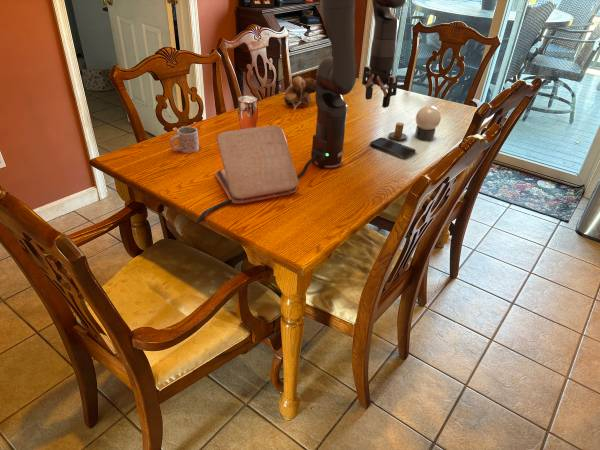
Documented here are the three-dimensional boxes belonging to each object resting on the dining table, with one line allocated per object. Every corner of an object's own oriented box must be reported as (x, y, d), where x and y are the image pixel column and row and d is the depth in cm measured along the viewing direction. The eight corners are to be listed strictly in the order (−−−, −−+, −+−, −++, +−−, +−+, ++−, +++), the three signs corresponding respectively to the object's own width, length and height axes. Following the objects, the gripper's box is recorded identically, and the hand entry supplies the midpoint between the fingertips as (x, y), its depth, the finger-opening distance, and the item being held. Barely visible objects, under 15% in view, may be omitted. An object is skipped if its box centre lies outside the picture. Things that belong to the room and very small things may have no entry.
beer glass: (262, 140, 162) (262, 99, 153) (247, 145, 157) (246, 103, 149) (249, 134, 165) (248, 94, 157) (234, 139, 161) (233, 98, 153)
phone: (381, 136, 166) (416, 150, 158) (381, 139, 167) (416, 152, 159) (369, 142, 161) (404, 156, 153) (368, 145, 162) (404, 159, 154)
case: (232, 208, 123) (230, 154, 114) (213, 173, 139) (209, 124, 130) (300, 195, 131) (303, 144, 122) (274, 164, 146) (275, 117, 137)
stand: (424, 142, 167) (426, 132, 165) (410, 135, 172) (412, 125, 170) (437, 138, 171) (439, 128, 168) (423, 132, 175) (426, 122, 173)
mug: (191, 143, 157) (190, 125, 153) (202, 149, 153) (201, 131, 149) (166, 150, 151) (164, 132, 147) (177, 157, 147) (175, 138, 143)
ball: (425, 136, 165) (431, 112, 160) (408, 127, 171) (413, 104, 166) (442, 132, 169) (448, 108, 164) (425, 123, 175) (430, 101, 170)
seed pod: (329, 91, 190) (308, 72, 196) (303, 90, 179) (281, 69, 185) (316, 117, 198) (295, 98, 204) (290, 118, 187) (269, 97, 193)
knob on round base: (396, 143, 166) (399, 128, 162) (384, 136, 170) (386, 122, 167) (410, 139, 169) (413, 125, 166) (397, 133, 173) (400, 119, 170)
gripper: (359, 48, 143) (354, 98, 153) (389, 59, 134) (382, 112, 143) (377, 46, 147) (371, 94, 156) (407, 56, 137) (399, 108, 146)
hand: (376, 103), depth 150 cm, fingers open, 8 cm apart
